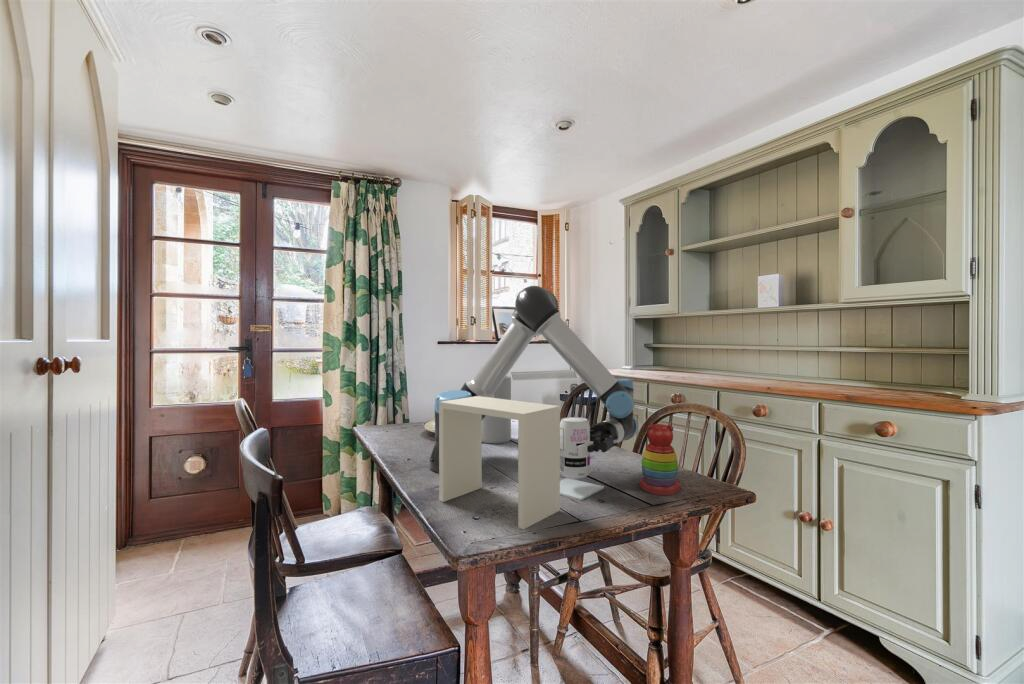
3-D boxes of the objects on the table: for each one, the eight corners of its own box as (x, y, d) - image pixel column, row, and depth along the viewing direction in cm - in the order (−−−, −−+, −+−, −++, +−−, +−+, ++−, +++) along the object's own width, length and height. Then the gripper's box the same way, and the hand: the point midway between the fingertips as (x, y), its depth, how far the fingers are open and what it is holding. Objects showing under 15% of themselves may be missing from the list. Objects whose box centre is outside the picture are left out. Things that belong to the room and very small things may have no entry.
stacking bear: (680, 485, 130) (681, 421, 130) (681, 497, 121) (681, 428, 121) (640, 481, 134) (640, 419, 134) (637, 493, 124) (638, 426, 124)
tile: (581, 500, 119) (581, 498, 119) (542, 490, 126) (542, 488, 126) (604, 488, 128) (604, 486, 128) (566, 479, 136) (566, 477, 136)
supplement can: (571, 468, 133) (571, 415, 133) (595, 474, 127) (595, 419, 127) (553, 474, 127) (552, 419, 127) (577, 481, 121) (577, 423, 121)
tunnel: (523, 529, 101) (523, 413, 101) (439, 500, 118) (439, 401, 118) (559, 510, 112) (560, 406, 112) (477, 486, 129) (477, 396, 129)
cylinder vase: (481, 436, 191) (481, 375, 191) (512, 437, 190) (512, 375, 189) (476, 443, 179) (476, 378, 178) (509, 444, 177) (509, 378, 177)
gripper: (639, 451, 134) (600, 470, 117) (576, 441, 148) (532, 456, 130) (639, 425, 134) (600, 439, 117) (576, 417, 147) (532, 429, 130)
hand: (564, 448), depth 123 cm, fingers closed on supplement can, 8 cm apart
